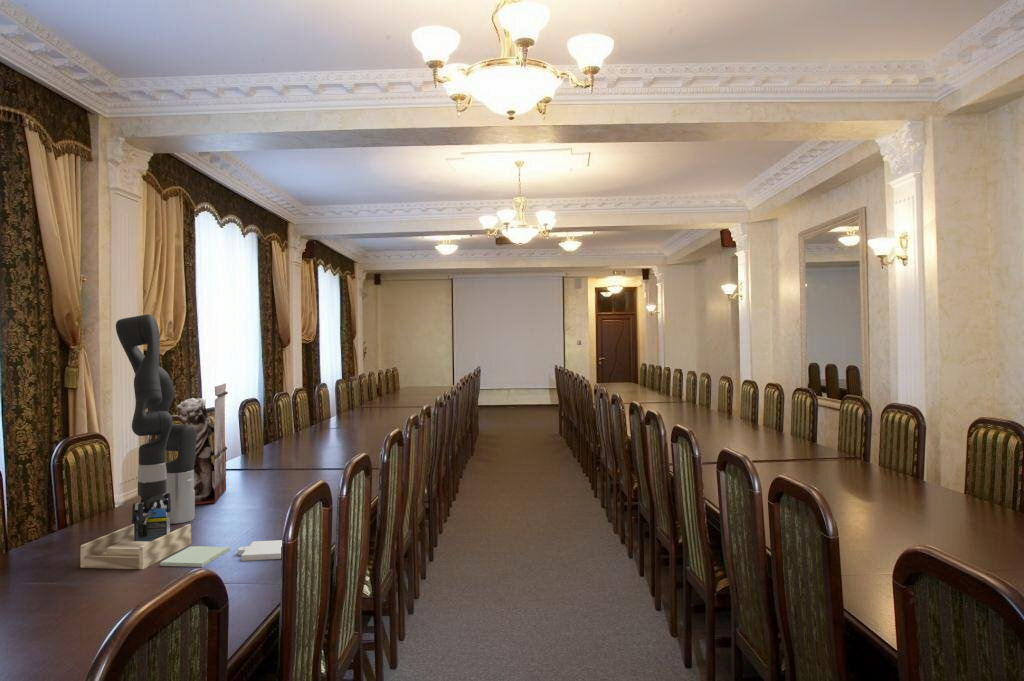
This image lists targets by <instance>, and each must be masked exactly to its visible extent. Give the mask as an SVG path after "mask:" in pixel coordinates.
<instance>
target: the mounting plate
mask: <svg viewBox="0 0 1024 681" xmlns="http://www.w3.org/2000/svg"><path fill="white" fill-rule="evenodd" d="M282 540H283V539H281V540H279V539H276V540H275V539H274V540H258V541H257V540H256V541H255V540H254V541H252V542H251V543H250V545H248V546H241V547H238V548H237V556H241V561H243V562H244V561H261V560H263V561H264V560H265V561H266V560H281V547H282Z"/></svg>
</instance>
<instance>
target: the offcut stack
mask: <svg viewBox="0 0 1024 681" xmlns="http://www.w3.org/2000/svg"><path fill="white" fill-rule="evenodd" d="M149 542H151V541H122V542H120V543H118V544H115V545H113V546H111V547H109V548H107V552H104V553H102V556H129V557H139V547H140V546H142V545H145V544H147V543H149Z"/></svg>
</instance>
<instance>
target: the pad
mask: <svg viewBox="0 0 1024 681" xmlns="http://www.w3.org/2000/svg"><path fill="white" fill-rule="evenodd" d="M229 551H230V546H203V545H202V546H199V545H198V546H196V545H193V546H192V545H189V546H187V547H185V549H184V548H183V549H182V550H180V551H178V552H176V553H174V554H172V555H170V556H168V557H166V558H164V560H161V561H160V562H159V563H160V566H161V567H186V568H187V567H192V568H193V567H194V568H195V567H196V568H203V567H204V566H206V565H208V564H210V563H211V562H213V561H214V560H216V559H218V558H219V557H221V556H223V555H224V554H226V553H228V552H229Z"/></svg>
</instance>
